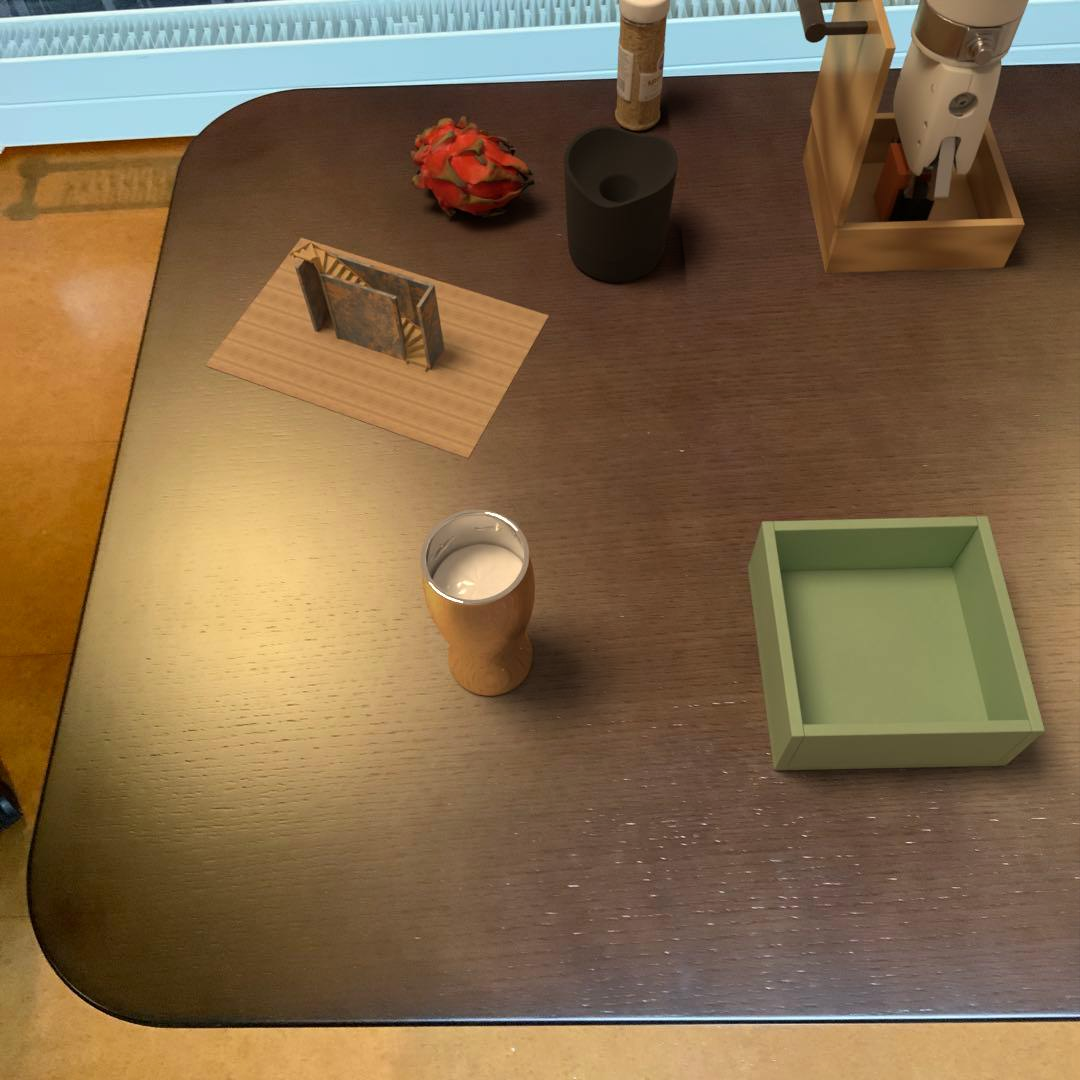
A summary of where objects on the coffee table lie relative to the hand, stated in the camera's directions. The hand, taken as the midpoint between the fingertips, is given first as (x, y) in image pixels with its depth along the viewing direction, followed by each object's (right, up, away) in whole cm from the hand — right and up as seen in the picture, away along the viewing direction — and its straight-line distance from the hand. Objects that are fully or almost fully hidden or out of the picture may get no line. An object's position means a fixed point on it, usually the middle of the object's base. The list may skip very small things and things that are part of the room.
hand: (901, 205), depth 95 cm
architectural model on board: (-47, -13, -4) cm, 49 cm away
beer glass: (-36, -39, -20) cm, 57 cm away
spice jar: (-23, +12, +9) cm, 28 cm away
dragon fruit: (-39, +2, +4) cm, 39 cm away
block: (0, 0, +1) cm, 1 cm away
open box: (-9, -39, -21) cm, 45 cm away
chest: (0, -1, +1) cm, 1 cm away
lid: (-8, +6, -11) cm, 15 cm away
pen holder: (-26, -4, 0) cm, 26 cm away
